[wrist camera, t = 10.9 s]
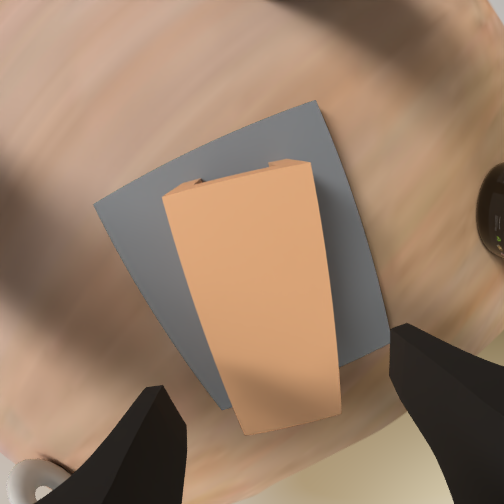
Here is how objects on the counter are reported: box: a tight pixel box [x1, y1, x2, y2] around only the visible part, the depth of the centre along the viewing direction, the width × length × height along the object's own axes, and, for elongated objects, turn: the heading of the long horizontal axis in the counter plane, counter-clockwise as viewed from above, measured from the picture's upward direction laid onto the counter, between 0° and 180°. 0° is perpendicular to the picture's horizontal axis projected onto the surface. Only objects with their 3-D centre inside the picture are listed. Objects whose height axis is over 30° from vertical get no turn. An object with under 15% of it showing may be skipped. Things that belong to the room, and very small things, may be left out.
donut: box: [6, 459, 71, 504], centre depth 18 cm, size 10×4×10 cm, turn 42°
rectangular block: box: [162, 159, 342, 436], centre depth 14 cm, size 12×5×4 cm, turn 12°
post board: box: [93, 100, 390, 410], centre depth 15 cm, size 15×12×4 cm
